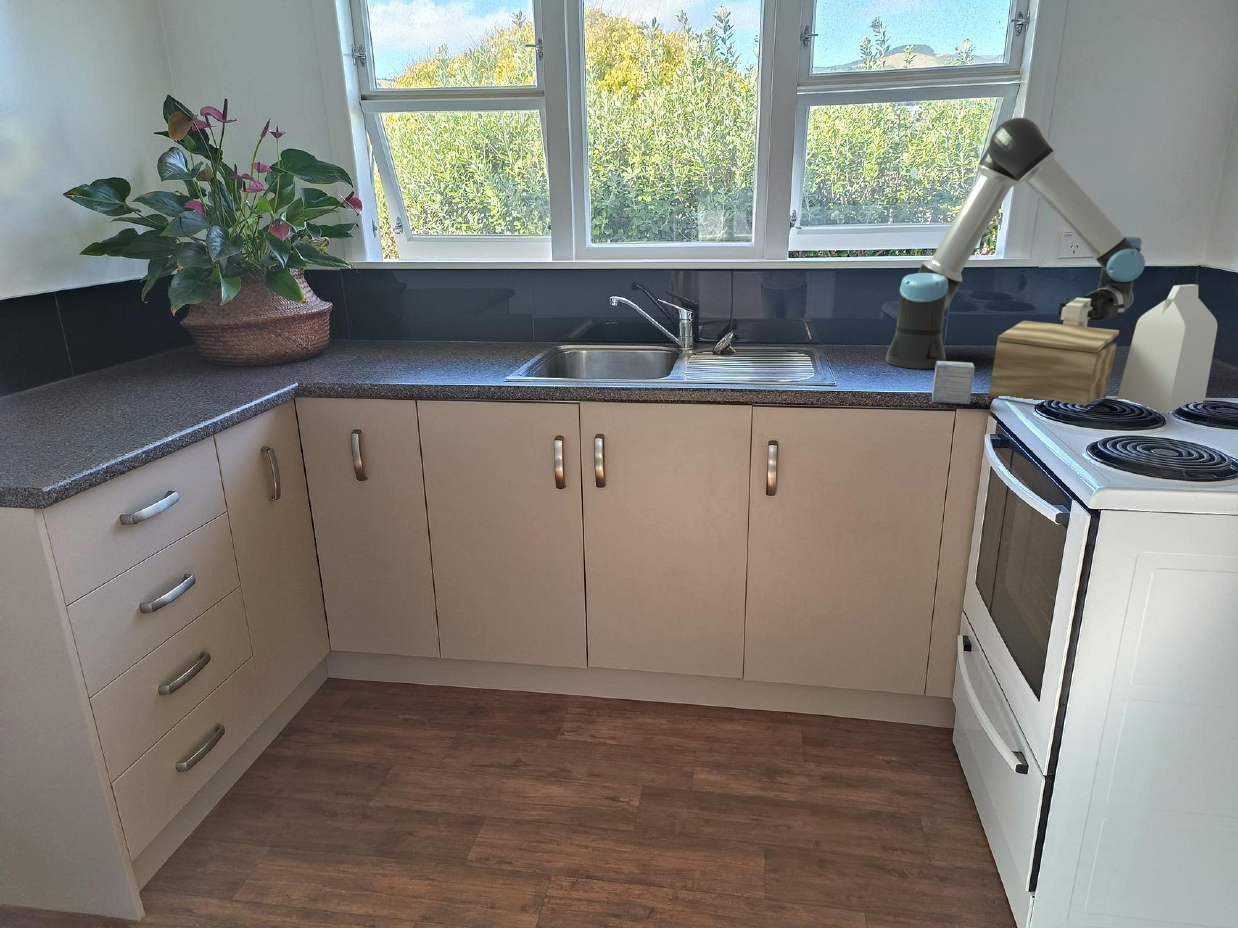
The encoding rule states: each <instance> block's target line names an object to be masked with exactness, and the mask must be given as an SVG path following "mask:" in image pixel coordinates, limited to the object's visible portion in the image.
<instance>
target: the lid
mask: <svg viewBox="0 0 1238 928" xmlns="http://www.w3.org/2000/svg"><path fill="white" fill-rule="evenodd" d="M1072 300H1073V301H1071V302H1070V303H1068V304H1066V308H1065V315H1064V320H1063V323H1062V324H1059V323H1051V322H1044V321H1043V322H1040V321H1032V320H1022V321H1020V322H1019V323H1016V325H1014V326H1012V327H1011V328H1009V329H1007V330H1006V331H1004V332H1003V333H1001V334H999V335H998V336H997V339H996V342H997V341H1004V342H1012V343H1020V344H1028V345H1037V346H1045V347H1053V348H1061V349H1070V350H1078V351H1086V352H1094V353H1097V352H1098V351H1099V350H1100V349H1102V348H1103V347H1104V346H1105V345H1107V344H1108V343H1109V342H1112V341H1113V340H1114V339H1115V338H1117V336H1119V333H1120V330H1117V329H1109V328H1108V329H1107V328H1100V327H1099V328H1098V327H1091V326H1090V327H1089V326H1088V322H1089V319H1088V320H1085V321H1083V322H1080V321H1079V316H1080V311H1081V309H1083V308H1086V307H1089V306H1090V304H1091V299H1087V298H1084V297H1076V298H1074V299H1072Z"/></svg>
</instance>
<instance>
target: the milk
mask: <svg viewBox="0 0 1238 928" xmlns="http://www.w3.org/2000/svg"><path fill="white" fill-rule="evenodd" d="M1134 328H1135V329H1134V332H1133V336H1132V340H1131V344H1130V347H1129V350H1128V351H1129V352H1128V355H1127V359H1126V364H1125V367H1124V371H1123V374H1122V379H1121V381H1120V385H1119V390H1118V392H1117V397H1116V400H1117V399H1125V400H1129V401H1131V402H1135V403H1138V404H1141V405H1143V406H1145V407H1149V408H1151V409H1153V410H1156V411H1157V412H1156V413H1159V412H1162V413H1161V414H1163V413H1165V414H1164V415H1169V414H1168V413H1170V412H1173V411H1174V410H1176V409H1178V408H1179V407H1182V406H1184V405H1186V404H1190V403H1194V402H1203V401H1205V400H1206V396H1207V395H1206V394H1207V391H1208V390H1207V389H1208V384H1209V378H1210V372H1211V367H1212V360H1213V355H1214V348H1215V344H1216V337H1217V331H1218V322H1217V319H1216V317H1215V316H1214V315H1213V313H1212V312H1211V311H1210V310H1209V309H1208V308H1207V306H1206V305H1205V304H1204V303H1203V301H1202V300H1201V299H1200V298H1199V284H1194V283H1193V284H1190V283H1189V284H1177V285H1173V286H1172V288H1171V290H1170V291H1169V294H1168V296H1167V298H1166V299H1165V300H1163V301H1161V302H1160V303H1158V304H1157V305H1156V306H1154V307H1152V308H1151V309H1149V310H1148V311H1146V312H1145V313H1143V314H1142V315H1141V316H1140V317H1139V318H1138V319H1137V322H1136V325H1135V327H1134Z"/></svg>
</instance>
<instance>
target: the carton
mask: <svg viewBox="0 0 1238 928" xmlns="http://www.w3.org/2000/svg"><path fill="white" fill-rule="evenodd" d="M1117 345H1118V344H1117V342H1112V341H1110V342H1109V343H1108V344H1107V345H1105V346H1104V347H1103V348H1102V349H1100V350H1099V351H1098V352H1097V353H1094V352H1086V351H1078V350H1070V349H1061V348H1053V347H1045V346H1037V345H1028V344H1020V343H1012V342H1004V341H997V340H996V347H995V352H994V353H995V354H994V358H993V359H994V361H993V366H992V372H991V379H990V384H989V385H990V387H989V393H988V398H992V399H997V398H998V397H999V396H1010V397H1016V398H1023V399H1033V400H1045V401H1046V400H1054V401H1059V402H1065V403H1071V404H1079V405H1083V406H1087V405H1088V404H1090V402H1092V401H1093V400H1094V399H1099V398H1106V399H1107V393H1108V390H1109V385H1110V379H1111V374H1112V369H1113V364H1114V359H1115V354H1116V349H1117Z"/></svg>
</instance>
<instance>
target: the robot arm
mask: <svg viewBox="0 0 1238 928" xmlns="http://www.w3.org/2000/svg"><path fill="white" fill-rule="evenodd" d="M1055 154H1056V151H1055V150H1054V149H1053V148H1052V147H1051V146H1050V144H1049V143H1048V142H1047V140H1046V139H1045V137H1044V136H1043V133H1042V132H1041V130H1040V127H1039V126H1038V125H1037V124H1036V123H1035V122H1034V121H1033V120H1031V119H1028V118H1024V117H1014V118H1009V119H1008V120H1006V121H1003V122H1002V123H1001V124H999V126H998V127H996V128H995V130H994V132H993V133H992V134H991V137H990V140H989V145H988V147H987V148H986V151H985V152H984V154H983V155H982V157H981V159H980V161H979V162H978V165H977V166H978V171H979V175H978V176H977V178H976V180H975V182H974V184H973V185H972V187H971V189H970V191H969V192H968V194H967V196H966V197H965V199H964V202H963V203H962V204H961V207H960V208H959V210H958V212H957V213H956V215H955V217H954V219H953V220H952V221H951V224H950V225H949V227H948V229H947V231H946V233H945V235H944V237H943V239H942V240H941V241H940V244H939V245H938V246H937V248H936V250H935V252H934V254H933V256H932V258H929V259H928V260H925V261H923V263H922V264H921V265H920V267H919V270H918V272H917V273H912V274H907V275H905V276H904V277H903V278H902V279H901V283H900V287H899V299H898V310H897V317H896V318H897V319H896V326H895V327H896V328H895V334H894V337H893V339H892V341H891V344H890V346H889V348H888V350H887V352H886V357H885V362H886V363H887V364H889V365H892V366H895V367H901V368H908V369H918V370H919V369H921V370H922V369H923V370H927V369H928V370H929V369H935V367H936V361H946V352H945V347H944V343H943V338H942V333H943V326H944V325H943V324H944V319H945V318H944V317H945V311H946V310H947V308H948V307H949V306H950V304H951V302H952V301H953V300H952V299H953V298H954V296H955V294H956V292H957V291H958V289H959V287H960V286H961V283H962V282H963V277H962V276H963V275H962V271H963V270H964V267H965V266H966V264H967V263H968V261H969V259H970V257H971V256H972V254H973V252H974V250H975V249H976V248H977V246H978V244H979V242H980V240H981V239H982V237H983V235H984V234H985V232H986V231H987V229H988V227H989V225H990V224H991V222H992V220H993V219H994V217H995V215H996V213H997V211H998V210H999V208H1000V207H1001V205H1002V204H1003V202H1004V200H1005V199H1006V196H1007V195H1008V193H1009V192H1010V190H1011V188H1013V187H1015V186H1017V185H1020V184H1021V183H1026V184H1027V185H1028V187H1029V188H1030V189H1031V190H1032V191H1033V192H1034V193H1035V195H1037V197H1039V199H1040V200H1041V201H1042V202H1043V203H1044V205H1046V206H1047V208H1048V209H1049V210H1050V211H1051V212H1052V213H1053V214H1054V215H1055V216H1056V218H1058V219H1059V221H1060V222H1061V223H1062V224H1063V225H1064V226H1065V227H1066V229H1068V231H1069V232H1070V233H1071V234H1072V235H1073V236H1074V237H1075V238H1076V240H1077V241H1078V242H1079V243H1080V244H1081V245H1082V246H1083V247H1084V248H1085V249H1086V250H1087V252H1088V253H1089V254H1090V256H1092V257H1093V258H1094V260H1095V261H1096V262H1097V263H1098V264H1099V265H1100V266H1101V270H1100V276H1099V280H1098V285H1097V289H1095V290H1091V291H1090V292H1088V293H1087V294H1085V296H1083V298H1087V299H1091V304H1090V306H1089V307H1086V308H1083V309H1081V311H1080V316H1079V321H1080V322H1083V321H1085V320H1088V321H1089V320H1090V321H1093V322H1100V321H1104V320H1105V319H1106V320H1107V319H1110V318H1113V317H1114V318H1115V317H1121V316H1123V315H1124V312H1125V311H1126V310H1128V308H1130V306H1131V305H1132V303H1133V302H1134V297H1135V296H1134V293H1133V286H1134V281H1135V279H1138V277H1139V276H1140V275H1141V274H1142V273H1143V271H1144V269H1145V264H1146V260H1145V256H1144V255H1143V254H1142V253H1141V251H1142V247H1141V246H1142V238H1140V237H1137V236H1125V235H1124V233H1122V232H1121V230H1119V228H1118V227H1117V226H1116V225H1115V224H1114V223H1113V222H1112V221H1111V219H1110V218H1109V217H1108V216H1107V215H1106V214H1105V213H1104V212H1103V210H1102V209H1100V207H1099V206H1098V205H1097V204H1096V203H1095V201H1093V200H1092V199H1091V198H1090V196H1089V194H1087V193H1086V192H1085V191H1084V190H1083V189H1082V187H1080V185H1079V184H1078V183H1077V182H1076V181H1075V179H1073V178H1072V176H1071V175H1070V174H1069V173H1068V172H1067V171H1066V169H1064V167H1063V166H1062V165H1061V164H1060V163H1059V162H1058V161H1057V160H1056V158H1055V156H1056V155H1055ZM1073 300H1074V299H1070V298H1065V299H1064V300H1063V301H1061V302H1059V305H1058V309H1057V315H1061V316H1060V320H1061V321H1062V320H1063V321H1064V315H1065V308H1066V304H1068V303H1070V302H1071V301H1073Z"/></svg>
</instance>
